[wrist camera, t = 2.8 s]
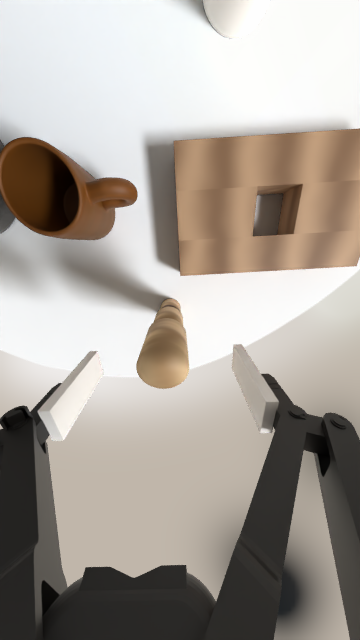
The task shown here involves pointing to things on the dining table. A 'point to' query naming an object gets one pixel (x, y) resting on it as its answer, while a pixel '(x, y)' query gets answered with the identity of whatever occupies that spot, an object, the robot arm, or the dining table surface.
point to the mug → (59, 192)
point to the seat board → (260, 179)
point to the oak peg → (165, 349)
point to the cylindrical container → (235, 15)
